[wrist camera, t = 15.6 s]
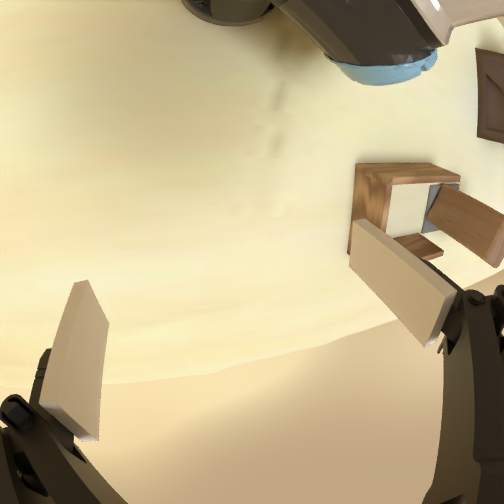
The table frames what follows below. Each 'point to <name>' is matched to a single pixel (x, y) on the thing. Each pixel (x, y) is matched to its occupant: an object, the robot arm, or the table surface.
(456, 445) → the robot arm
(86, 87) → the table surface
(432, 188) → the pad
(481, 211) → the block
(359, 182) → the cubby
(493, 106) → the wooden crate
